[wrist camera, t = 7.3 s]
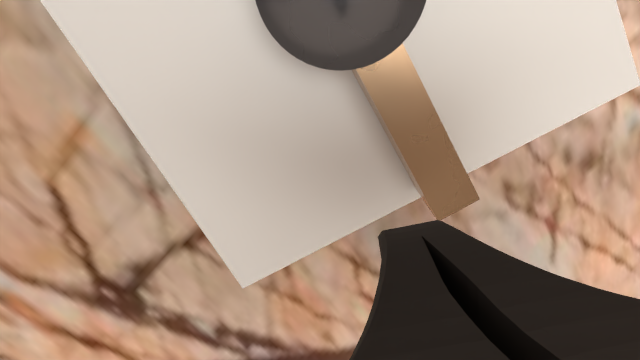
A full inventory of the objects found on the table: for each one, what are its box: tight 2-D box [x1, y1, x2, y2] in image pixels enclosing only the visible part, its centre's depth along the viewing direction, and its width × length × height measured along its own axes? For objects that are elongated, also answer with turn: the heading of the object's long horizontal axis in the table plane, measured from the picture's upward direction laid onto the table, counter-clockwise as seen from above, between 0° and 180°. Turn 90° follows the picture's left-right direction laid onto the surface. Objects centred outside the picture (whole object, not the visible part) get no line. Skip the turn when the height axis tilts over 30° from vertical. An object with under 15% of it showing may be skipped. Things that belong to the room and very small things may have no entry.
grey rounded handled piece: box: [255, 0, 479, 221], centre depth 17 cm, size 11×5×4 cm, turn 30°
